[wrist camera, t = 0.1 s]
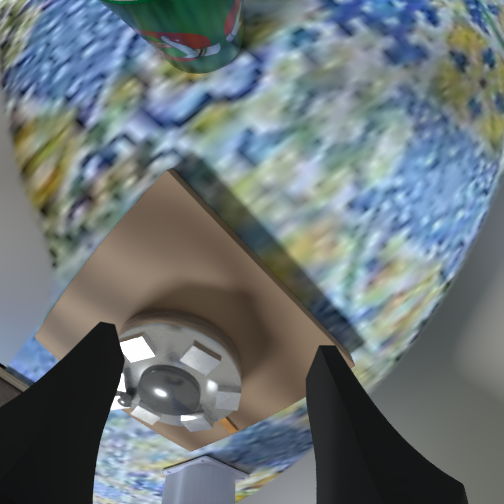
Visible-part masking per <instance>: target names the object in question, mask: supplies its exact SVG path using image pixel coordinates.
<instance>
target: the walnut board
mask: <svg viewBox="0 0 504 504" xmlns="http://www.w3.org/2000/svg"><path fill="white" fill-rule="evenodd" d="M152 310H177V311H182V312H186V313H190V314H193V315H196V316H198V317H200V318H203V319H205V320H207V321H209V322H210V323H212V324H214V325H215V326H216V327H218V328H219V329H221V330H222V331H223V332H224V333H225V334H226V335H227V336H228V337H229V338H230V339H231V340H232V342H233V343H234V345H235V346H236V348H237V350H238V352H239V354H240V358H241V364H242V387H241V398H240V402H239V407H238V411H235V410H233V412H231V413H230V414H229V415H228V416H226V417H225V418H223V419H221V420H219V421H217V422H214V424H213V429H208V430H202V431H195V432H190V431H189V430H188V429H187V428H186V427H185V426H176V425H170V424H165V423H162V422H159V421H156V422H155V423H154V424H153V425H151V424H149V423H147V422H145V421H143V420H141V419H139V418H137V417H135V416H134V415H132V414H130V413H131V410H132V408H131V407H130V408H124V409H121V410H123V411H124V412H126V413H127V414H128V415H130V416H131V417H133V418H135V419H136V420H138V421H139V422H141V423H142V424H144V425H145V426H147V427H149V428H150V429H152V430H153V431H155V432H157V433H158V434H160V435H162V436H164V437H165V438H167V439H169V440H171V441H172V442H174V443H176V444H178V445H180V446H181V447H183V448H185V449H187V450H189V451H194V450H196V449H199V448H201V447H204V446H206V445H209V444H211V443H214V442H216V441H218V440H221V439H223V438H225V437H228V436H230V435H232V434H234V433H236V432H239V431H241V430H243V429H245V428H247V427H249V426H251V425H253V424H255V423H257V422H259V421H261V420H263V419H265V418H267V417H269V416H271V415H273V414H275V413H277V412H279V411H281V410H283V409H285V408H286V407H288V406H290V405H292V404H294V403H295V402H297V401H299V400H301V399H302V398H304V397H306V376H307V374H308V372H309V369H310V367H311V364H312V362H313V359H314V357H315V354H316V352H317V349H318V347H319V345H336V347H337V348H338V350H339V351H340V353H341V355H342V356H343V358H344V359H345V361H346V363H347V364H348V366H349V367H350V369H351V368H352V367H354V366H355V364H354V362H353V359H352V357H351V355H350V353H349V352H348V351H347V350H346V349H345V348H344V347H343V346H342V345H341V344H340V343H339V342H338V341H337V340H336V339H335V338H334V337H333V335H332V334H331V333H330V332H329V331H328V330H327V329H326V328H325V327H324V326H323V325H322V324H321V323H320V322H319V321H318V320H317V319H316V318H315V317H314V316H313V314H312V313H311V312H310V311H309V310H308V309H307V308H306V307H305V306H304V305H303V304H302V303H301V302H300V301H299V300H298V299H297V298H296V297H295V296H294V294H293V293H292V292H291V291H290V290H289V289H288V288H287V287H286V286H285V285H284V284H283V283H282V282H281V281H280V280H279V279H278V278H277V277H276V276H275V275H274V273H273V272H272V271H271V270H270V269H269V268H268V267H267V266H266V265H265V264H264V263H263V262H262V261H261V260H260V259H259V258H258V257H257V256H256V255H255V254H254V252H253V251H252V250H251V249H250V248H249V247H248V246H247V245H246V244H245V243H244V242H243V241H242V240H241V239H240V238H239V237H238V236H237V235H236V234H235V233H234V231H233V230H232V229H231V228H230V227H229V226H228V225H227V224H226V223H225V222H224V221H223V220H222V219H221V218H220V217H219V216H218V215H217V214H216V213H215V212H214V210H213V209H212V208H211V207H210V206H209V205H208V204H207V203H206V202H205V201H204V200H203V199H202V198H201V197H200V196H199V195H198V194H197V193H196V192H195V191H194V190H193V188H192V187H191V186H190V185H189V184H188V183H187V182H186V181H185V180H184V179H183V178H182V177H181V176H180V175H179V174H178V173H177V172H176V171H175V170H174V169H173V168H171V169H169V170H167V171H166V172H165V173H164V174H163V175H162V176H161V177H160V178H159V179H158V180H157V181H156V182H155V183H154V184H153V185H152V186H151V187H150V188H149V189H148V190H147V191H146V192H145V194H144V195H143V196H142V197H141V198H140V199H139V200H138V201H137V202H136V203H135V205H134V206H133V207H132V208H131V209H130V210H129V211H128V212H127V213H126V215H125V216H124V217H123V218H122V219H121V220H120V222H119V223H118V224H117V225H116V226H115V227H114V229H113V230H112V231H111V232H110V233H109V235H108V236H107V237H106V238H105V239H104V241H103V242H102V243H101V244H100V246H99V247H98V248H97V249H96V251H95V252H94V253H93V254H92V256H91V257H90V258H89V259H88V261H87V262H86V263H85V265H84V266H83V267H82V269H81V270H80V271H79V272H78V274H77V275H76V276H75V278H74V279H73V281H72V282H71V283H70V285H69V286H68V287H67V289H66V290H65V292H64V293H63V294H62V296H61V297H60V299H59V300H58V302H57V303H56V305H55V306H54V307H53V309H52V310H51V312H50V313H49V315H48V316H47V318H46V319H45V321H44V323H43V324H42V326H41V327H40V329H39V330H38V332H37V334H36V335H35V338H36V339H37V340H38V341H39V342H40V343H41V344H42V345H43V346H44V347H45V348H46V349H47V350H48V351H49V352H50V353H52V354H53V355H54V356H55V357H56V358H57V359H58V360H59V361H60V360H61V359H62V358H63V357H64V356H65V355H66V354H67V353H68V352H70V351H71V350H72V349H73V348H74V347H75V346H76V345H77V344H78V343H79V342H80V341H81V340H82V339H83V338H84V337H85V336H86V335H87V334H88V333H89V332H90V331H91V330H92V329H93V328H94V327H95V326H96V325H97V324H98V323H99V322H100V321H101V322H106V323H111V324H115V326H116V330H117V334H118V333H119V331H120V329H121V328H122V327H123V325H124V324H125V323H126V322H127V321H128V320H129V319H131V318H133V317H134V316H136V315H138V314H141V313H144V312H147V311H152Z"/></svg>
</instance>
